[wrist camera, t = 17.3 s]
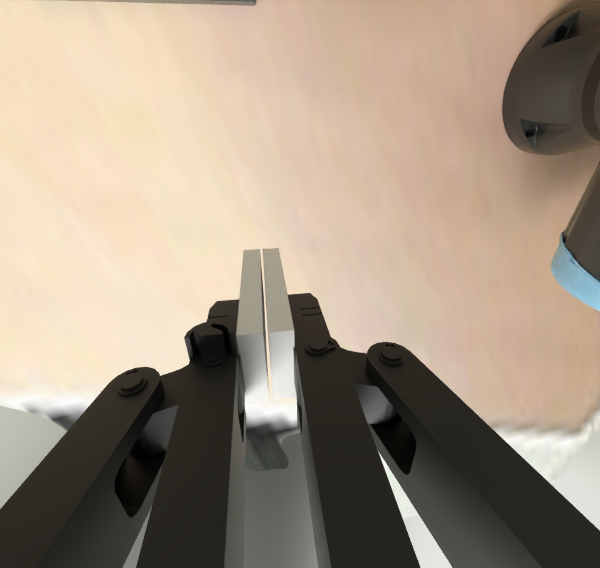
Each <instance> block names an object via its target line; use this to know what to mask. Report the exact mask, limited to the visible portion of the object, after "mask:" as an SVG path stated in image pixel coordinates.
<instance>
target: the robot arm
mask: <svg viewBox="0 0 600 568" xmlns="http://www.w3.org/2000/svg"><path fill="white" fill-rule="evenodd" d="M503 121H504V126H505V129H506V132H507V134H508V136H509V138H510V140H511V141H512V142H513V143H514V144H515V145H516V146H517V147H518V148H519V149H521V150H523V151H525V152H528V153H532V154H541V155H559V154H564V153H568V152H572V151H576V150H580V149H583V148H587V147H591V146H595V145H599V144H600V2H594V3H590V4H587V5H584V6H581V7H578V8H575V9H573V10H570V11H567V12H565V13H563V14H561V15H559V16H557V17H556V18H554V19H553V20H551V21H550V22H548V23H547V24H546V25H545V26H544V27H542V28H541V29H540V30H539V31H538V32H537V33H536V34H535V35H534V36H533V38H532V39H531V40H530V41H529V42H528V44H527V45H526V46H525V48H524V49H523V51H522V52H521V54H520V55H519V57H518V59H517V61H516V62H515V64H514V66H513V69H512V71H511V73H510V76H509V79H508V81H507V85H506V88H505V93H504V98H503ZM559 242H560V243H559V245H558V248H557V250H556V252H555V255H554V257H553V259H552V262H551V271H552V273H553V275H554V277H555V279H556V281H557V282H558V283H559V284H560V285H561V286H562V287H563V288H564V289H565V290H566V291H567V292H569V293H570V294H571V295H573V296H574V297H575V298H577V299H579V300H580V301H582V302H583V303H585V304H587V305H589V306H591V307H592V308H594V309H596V310H598V311H600V161H599V163H598V165H597V167H596V169H595V172H594V174H593V176H592V178H591V180H590V182H589V184H588V186H587V188H586V190H585V192H584V194H583V196H582V198H581V200H580V201H579V203H578V205H577V207H576V209H575V211H574V213H573V215H572V217H571V219H570V221H569V223H568V225H567V227H566V229H565V230H564V231H563V232H562V233H561V235H560V239H559ZM263 262H264V278H265V294H266V310H267V326H268V340H269V353H270V365H271V378H272V391H273V400H275V399H283V398H292V397H296V396H297V421H298V427H299V428H300V435H301V442H302V450H303V457H304V465H305V472H306V480H307V487H308V494H309V501H310V509H311V517H312V524H313V531H314V539H315V546H316V554H317V561H318V568H420V565H419V562H418V560H417V557H416V554H415V551H414V549H413V546H412V543H411V541H410V538H409V535H408V532H407V530H406V527H405V524H404V522H403V519H402V516H401V513H400V510H399V508H398V505H397V502H396V499H395V497H394V494H393V491H392V488H391V486H390V483H389V480H388V477H387V475H386V472H385V469H384V466H383V464H382V461H381V458H380V456H379V453H378V451H379V452H380V454H381V456H382V457H383V459H384V460H385V462H386V463H387V465H388V467H389V468H390V470H391V471H392V473H393V475H394V476H395V478H396V479H397V481H398V482H399V484H400V486H401V487H402V489H403V490H404V492H405V493H406V495H407V497H408V498H409V500H410V501H411V503H412V504H413V506H414V508H415V509H416V511H417V512H418V514H419V515H420V517H421V519H422V520H423V521H424V523H425V525H426V526H427V528H428V529H429V531H430V533H431V534H432V536H433V537H434V539H435V540H436V542H437V544H438V545H439V547H440V548H441V550H442V551H443V553H444V555H445V556H446V558H447V559H448V561H449V563H450V564H451V566H452V567H453V568H600V531H599V530H598V529H597V528H596V527H595V526H594V525H593V524H592V523H591V522H590V521H589V520H588V519H587V518H586V517H585V516H583V514H581V513H580V512H579V511H578V510H577V509H576V508H575V507H574V506H573V505H572V504H571V503H570V502H569V501H568V500H567V499H566V498H564V496H562V495H561V494H560V493H559V492H558V491H557V490H556V489H555V488H554V487H553V486H552V485H551V484H550V483H549V482H548V481H547V480H546V479H544V478H543V477H542V476H541V475H540V474H539V473H538V472H537V471H536V470H535V469H534V468H533V467H532V466H531V465H530V464H529V463H528V462H527V461H525V460H524V459H523V458H522V457H521V456H520V455H519V454H518V453H517V452H516V451H515V450H514V449H513V448H512V447H511V446H510V445H509V444H508V443H506V442H505V441H504V440H503V439H502V438H501V437H500V436H499V435H498V434H497V433H496V432H495V431H494V430H493V429H492V428H491V427H490V426H489V425H487V424H486V423H485V422H484V421H483V420H482V419H481V418H480V417H479V416H478V415H477V414H476V413H475V412H474V411H473V410H472V409H471V408H469V407H468V406H467V405H466V404H465V403H464V402H463V401H462V400H461V399H460V398H459V397H458V396H457V395H456V394H455V393H454V392H453V391H452V390H450V389H449V388H448V387H447V386H446V385H445V384H444V383H443V382H442V381H441V380H440V379H439V378H438V377H437V376H436V375H435V374H434V373H433V372H431V371H430V370H429V369H428V368H427V367H426V366H425V365H424V364H423V363H422V362H421V361H420V360H419V359H418V358H417V357H416V356H415V355H413V354H412V353H411V352H410V351H409V350H408V349H406V348H405V347H403V346H401V345H398V344H396V343H390V342H381V343H376V344H374V345H372V346H371V347H370V348H369V350H368V351H367V353H359V352H353V351H348V350H345V349H343V348H341V347H340V346H339V344H338V343H337V341H336V340H334V339H333V338H331V336H330V334H329V331H328V328H327V325H326V322H325V320H324V317H323V314H322V311H321V308H320V306H319V303H318V300H317V299H316V298H315V297H314V296H313V295H312V294H310V293H304V294H292V295H287V290H286V284H285V279H284V274H283V269H282V263H281V258H280V253H279V248H274V249H263ZM184 338H185V342H186V346H187V351H188V355H189V359H190V362H189V365H187V366H185V367H183V368H182V369H179V370H177V371H174V372H171V373H168V374H165V375H162V376H160V374H159V373H158V372H157V371H156V370H155V369H153V368H149V367H140V368H134V369H131V370H128V371H126V372H124V373H122V374H120V375H118V376H117V377H116V378H114V379H113V380H112V381H111V382H110V383H109V384H108V385H107V386H106V387H105V388H104V390H103V391H102V392H101V393H100V394H99V395H98V397H97V398H96V399H95V400H94V401H93V402H92V404H91V405H90V406H89V407H88V408H87V409H86V410H85V412H84V413H83V414H82V415H81V416H80V417H79V419H78V420H77V421H76V422H75V423H74V424H73V426H72V427H71V428H70V429H69V430H68V431H67V433H66V434H65V435H64V436H63V437H62V438H61V440H60V441H59V442H58V443H57V444H56V445H55V447H54V448H53V449H52V450H51V451H50V452H49V453H48V455H47V456H46V457H45V458H44V459H43V460H42V461H41V463H40V464H39V465H38V466H37V467H36V468H35V470H34V471H33V472H32V473H31V474H30V475H29V477H28V478H27V479H26V480H25V481H24V482H23V483H22V485H21V486H20V487H19V488H18V490H16V492H15V493H14V494H13V495H12V496H11V497H10V499H9V500H8V501H7V502H6V503H5V505H4V506H3V507H2V508H1V509H0V568H122V567H123V565H124V563H125V561H126V559H127V557H128V555H129V553H130V551H131V548H132V546H133V544H134V542H135V540H136V538H137V536H138V534H139V532H140V530H141V527H142V525H143V523H144V521H145V519H146V517H147V515H148V512H149V511H150V508H151V506H152V509H151V512H150V516H149V520H148V524H147V528H146V532H145V536H144V539H143V543H142V547H141V551H140V555H139V559H138V563H137V566H136V568H243V559H244V558H243V556H244V552H243V551H244V502H245V501H244V500H245V448H246V413H245V407H244V404H245V402H246V403H249V402H257V401H266V400H269V389H268V370H267V350H266V330H265V311H264V294H263V282H262V270H261V257H260V249H257V250H244V253H243V264H242V276H241V287H240V298H239V300H226V301H217V302H216V303H215V304H214V305H213V306H212V307H211V308H210V310H209V314H208V319H207V322H205V323H202V324H199V325H197V326H195V327H193V328H192V329H191V330H189V331H188V332H187V334H186V335H185V337H184ZM377 449H378V450H377ZM152 504H153V505H152Z"/></svg>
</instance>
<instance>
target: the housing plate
mask: <svg viewBox="0 0 600 568" xmlns="http://www.w3.org/2000/svg"><path fill="white" fill-rule="evenodd" d="M70 1H108V2H145V3H183V4H220V5H255V0H70Z"/></svg>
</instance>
